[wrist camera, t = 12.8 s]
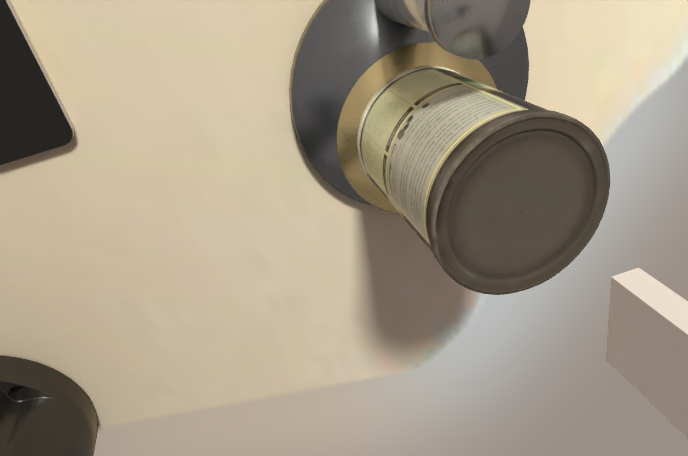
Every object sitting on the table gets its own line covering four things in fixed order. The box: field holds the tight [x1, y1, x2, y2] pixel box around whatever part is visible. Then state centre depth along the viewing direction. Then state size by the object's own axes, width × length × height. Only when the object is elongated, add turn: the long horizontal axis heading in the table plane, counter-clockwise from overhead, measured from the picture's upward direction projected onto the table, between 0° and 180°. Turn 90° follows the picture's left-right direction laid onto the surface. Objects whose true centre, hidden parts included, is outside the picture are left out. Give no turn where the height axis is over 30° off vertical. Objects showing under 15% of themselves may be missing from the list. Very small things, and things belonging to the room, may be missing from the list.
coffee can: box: [357, 66, 610, 295], centre depth 35 cm, size 10×10×14 cm
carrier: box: [289, 0, 530, 213], centre depth 35 cm, size 18×19×12 cm
